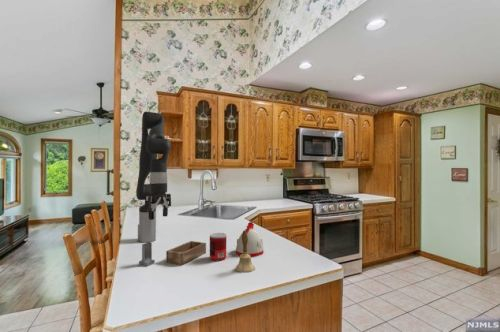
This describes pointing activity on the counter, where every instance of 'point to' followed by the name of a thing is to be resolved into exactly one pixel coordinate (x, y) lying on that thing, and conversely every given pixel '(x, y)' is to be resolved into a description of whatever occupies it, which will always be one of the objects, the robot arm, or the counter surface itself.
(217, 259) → the canned food
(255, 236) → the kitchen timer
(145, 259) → the bracket
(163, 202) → the robot arm
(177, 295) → the counter surface
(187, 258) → the open wooden box
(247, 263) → the hand bell
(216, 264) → the counter surface
